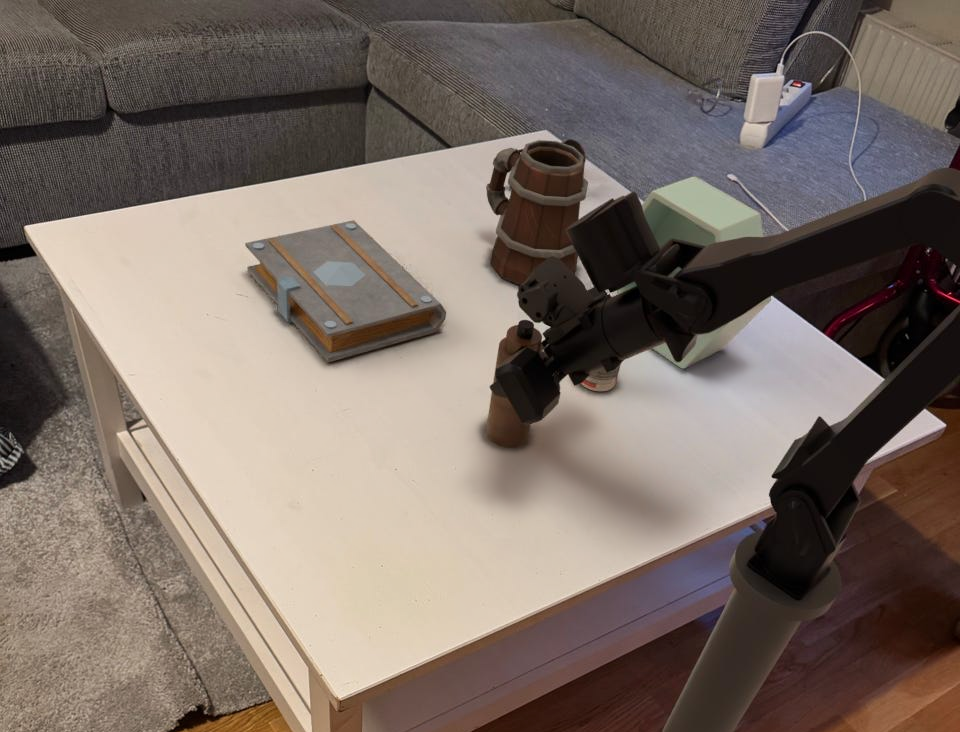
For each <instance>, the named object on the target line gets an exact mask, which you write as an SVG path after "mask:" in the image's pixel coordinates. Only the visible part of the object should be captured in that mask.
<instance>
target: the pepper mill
mask: <svg viewBox="0 0 960 732" xmlns="http://www.w3.org/2000/svg"><path fill="white" fill-rule="evenodd" d="M542 341H543V334H542V333H541V332H540V330H538V329H537V328H536V327H535V323H534V322H533V321H531V320H529V319H522V320H520V321H518V324H514V325H512V326H510V327H509V328H508V329H507V331H506V335H505V337H503V338H502V339H501V340H500V341H499V343H498V348H497V354H496V362H495V368H494V370H495V369H496V368H497V367H498V366H500V365H501V364H502V363H503V362H504V361H505V360H506V359H508V358H509V357H510V356H511V355H512V354H513V353H514V352H515V351H516V350H518V349H519V348H520V347H521V346H522V345H523V346H524V348H526V347H528V348H530V349H532V350H534V351H537V352H539V354H540V356H541V358H542V360H543V361H544V356H543V354H542V349H543V348H544V346H543V345H542V344H541V342H542ZM492 381H493V382H492V384H493V383H494V382H496V381H497V379H496V377H495V373H494V375H493V380H492ZM531 425H532V424H531ZM531 425H525V424H522V422H521V421H520V419H519V417H518V415H517V414H516V412H515V410H514V408H513V407H512V405H511V403H510V401H509V400H508V398H504V397H499V396H495V395H494V394H493V393H492V392H491V394H490V401H489V407H488V415H487V421H486V426H485V427H486V428H485V434H486V437H487V439H489V441H491V442H492V443H493V444H495V445H497V446H499V447H503V448H518V447H521V446H523V445H525V443H527V441H528V440H529V437H530V431H531V427H532V426H531Z"/></svg>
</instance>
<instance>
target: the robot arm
mask: <svg viewBox="0 0 960 732" xmlns="http://www.w3.org/2000/svg"><path fill="white" fill-rule="evenodd" d="M565 231H566V233H567V235H568V237H569V239H570V241H571V243H572V245H573V247H574V249H575V250H576V252H577V254H578V259H579V260H580V262H581V264H582V266H583V268H584V270H585V272H586V274H587V276H588V278H589V280H590V282H591V284H592V286H593V287H591V288H589V289H587V288H586V285H585V284H584V282H583V281H582V280H581V279H580V278H579V277H578V276H577V275H576V273H575V274H574V273H573V272H572V271H571V270H570V269H569V268H568V267H567V266H566V265H565V264H564V263H563V262H562V261H561V260H560V259H559V258H557V257H554V256H551V257H549V258H548V259H546V260H545V261H544V262H543V263H541V264H540V265H539V266H538V267H536V268H535V269H534V270H533V272H532V273H531V274H530V276H529V277H528V278H527V280H526V281H525V282H524V283H523V284H521V285H519V286H518V288H517V292H516V297H517V299H518V301H517V302H518V307H519V309H520V310H522V311H523V313H525V315H527V316H528V318H529V319H530V321H531V320H532V321H531V322H533V323H534V324H541V323H543V324H544V325H545V326H547V327H548V328H547V329H545V330H544V331H543V332H542V333H541V335H542V337H544V339H542V341H541V344H542V345H543V346H544V348H543V349H542V354H543V356H544V361H543V360H542V358H541V356H540V354H539V352H537V351H534V350H532V349H530V348H528V347H526V348H524V346H523V345H522V346H521V347H520V348H519V349H518V350H516V351H515V352H514V353H513V354H512V355H511V356H510V357H509V358H508V359H506V360H505V361H504V362H503V363H502V364H501V365H500V366H498V367H497V368H496V367H495V368H496V369H495V368H494V374H495V377H496V379H497V381H496V382H494V383H493V382H492V383H491V385H489V389H490V391H491V394H492V393H493V394H494V395H495V396H499V397H504V398H508V400H509V401H510V403H511V405H512V407H513V408H514V410H515V412H516V414H517V415H518V417H519V419H520V421H521V422H522V424H525V425H533V424H536V423H539V422H541V421H543V420H544V419H545V418H546V416H548V414H550V413H551V412H552V411H553V410H554V409H555V408H556V407H557V406H558V404H559V403H560V397H561V394H562V392H561V384H560V383H561V382H562V381H563V380H564V379H565V378H566V377H567V376H568V377H569V379H570V381H571V383H572V385H573V386H574V387H576V386H578V385H581V383H582V382H583V381H584V380H585V379H586V378H587V377H588V376H589V375H590V374H591V373H593V372H596V371H598V370H601V369H603V368H604V369H605V371H606V372H607V373H608V372H610V371H613V370H615V369H616V368H617V367H618V366H619V365H620V364H621V365H622V363H623V362H624V361H625V360H628V359H630V358H632V357H634V356H637V355H639V354H642V353H644V352H647V351H650V350H653V349H652V348H654V347H657V346H659V345H662V344H664V343H666V344H667V346H668V348H669V350H670V352H671V354H672V356H673V358H674V360H675V361H676V362H681V361H682V360H683V359H684V358H685V356H686V355H687V354H688V353H689V352H690V351H691V350H692V349H693V347H694V346H695V344H696V339H697V335H701V334H707V333H710V332H713V331H715V330H716V329H718V328H720V327H722V326H724V325H725V324H727V323H729V322H731V321H733V320H735V319H736V318H738V317H740V316H742V315H743V314H745V313H746V312H748V311H749V310H751V309H752V308H754V307H755V306H757V305H758V304H759V303H761V302H762V301H764V300H765V299H767V298H769V297H771V298H772V296H775V295H776V294H778V293H780V292H782V291H785V290H788V289H791V288H795V287H797V286H801V285H802V284H806V283H808V282H812V281H815V280H818V279H820V278H824V277H826V276H830V275H832V274H835V273H839V272H841V271H843V270H846V269H849V268H852V267H856V266H858V265H860V264H861V265H862V264H864V263H867V262H870V261H872V260H875V259H879V258H881V257H884V256H888V255H890V254H892V253H893V254H894V253H896V252H898V251H903V250H905V249H908V248H910V247H913V246H916V245H919V244H921V245H922V246H925V247H927V248H930V249H932V250H934V251H936V252H938V254H940V255H942V257H944V258H945V259H946V260H947V261H949V262H950V263H951V264H953V265H954V266H955V267H956V268H957V269H959V270H960V170H959V169H957V168H951V167H941V168H936V169H933V170H931V171H929V172H927V173H926V174H925V175H924V176H922V177H920V178H919V179H917V180H914V181H912V182H909V183H907V184H904V185H902V186H899V187H897V188H894V189H891V190H889V191H886V192H884V193H881V194H879V195H876V196H873V197H871V198H869V199H866V200H863V201H861V202H858V203H855V204H853V205H850V206H849V207H845V208H843V209H840V210H838V211H835V212H833V213H830V214H827V215H824V216H822V217H820V218H817V219H815V220H812V221H810V222H807V223H804V224H802V225H800V226H797V227H794V228H792V229H789V230H786V231H783V232H782V233H779V234H773V235H768V236H763V237H742V238H737V239H732V240H727V241H722V242H717V243H713V244H710V245H708V246H703V245H699V244H695V243H690V242H686V241H682V240H678V239H674V238H671V239H670V240H668V241H667V242H666V243H665V244H664V245H663V246H661V247H659V245H658V243H657V241H656V239H655V237H654V235H653V233H652V231H651V228H650V226H649V224H648V222H647V220H646V218H645V216H644V213H643V208H642V202H641V201H640V198H639V196H638V194H637V192H636V191H631V192H630V193H628V194H626V195H622V196H619V197H617V198H616V199H614V198H611V199H609V200H607V201H605V202H604V203H602V204H600V205H598V206H597V207H596V208H594V209H592V210H591V211H589V212H588V213H586V214H585V215H583V216H581V217H579V220H577V221H576V222H574V223H573V224H572V225H570V226H569V227H568V228H567V229H566V230H565ZM678 267H680V268H681V270H680V271H679V272H678V273H677V274H676V275H675V276H674V277H673V278H672V277H669V276H670V275H671V274H672V273H673V272H674V271H675V270H676V269H677V268H678ZM634 281H635V283H636V286H634V287H632V288H630V289H628V290H626V291H624V292H622V293H620V294H616V295H614V296H612V295H611V294H610V293H615V292H617V290H619V289H621V288H623V287H625V286H627V285H628V284H630V283H632V282H634ZM607 291H608V292H609V293H608V292H607ZM959 378H960V304H958V305H957V307H956V308H955V309H954V310H953V311H952V312H950V314H948V316H947V317H946V318H945V319H944V320H943V321H942V322H941V323H940V324H939V325H938V326H937V327H936V328H934V330H932V332H930V334H928V336H927V337H926V338H924V340H923V341H922V342H920V343H919V344H918V346H917V347H916V348H915V349H914V350H912V351H911V353H909V355H907V357H906V358H905V359H903V361H902V362H901V363H899V364H898V366H897V367H895V368H894V369H893V370H892V372H890V373H889V374H888V375H887V377H885V379H883V380H882V381H881V383H879V384H878V386H876V388H875V389H874V390H873V391H872V392H870V394H869V395H868V396H867V397H866V398H864V399H863V400H862V402H860V404H858V405H857V407H855V408H854V409H853V410H852V412H851V413H849V415H848V416H846V417H845V418H844V419H842V420H840V421H837V422H836V423H833V424H830V425H829V424H828V423H827V422H826V421H825V419H824V418H823V417H822V416H820V415H819V416H818V417H817V418H816V420H815V421H814V422H813V425H812V426H811V428H810V429H809V430H808V431H807V432H806V433H805V434H804V435H802V436H801V437H798V438H795V439H794V441H793V442H792V443H791V445H790V447H789V448H788V449H787V451H786V452H785V454H784V456H783V457H782V459H781V460H780V462H779V463H778V465H777V466H776V468H775V469H774V471H773V472H772V474H771V476H770V477H771V478H772V479H775V481H774V483H772V486H771V487H770V488H769V492H768V497H769V501H770V505H771V507H772V509H773V511H774V512H775V513H776V514H775V515H774V516H773V517H772V518H771V519H769V520H768V521H767V522H766V524H765V526H764V528H763V532H762V534H761V536H760V538H759V540H758V542H757V544H756V546H755V548H754V551H755V552H756V554H755V555H754V556H753V557H752V558H751V559H749V561H748V562H747V566H748V567H749V568H750V569H751V570H753V571H754V572H756V573H757V574H759V575H760V576H762V577H763V578H764V579H766V580H767V581H769V582H770V583H772V584H773V585H775V586H776V587H778V588H779V589H780V590H782V591H783V592H785V593H786V594H788V595H789V596H791V597H792V598H793V599H795V600H798V601H799V600H802V599H803V598H804V597H805V596H806V595H807V594H808V593H809V592H810V591H811V590H812V589H813V588H814V587H815V586H816V585H817V584H818V583H819V582H820V581H821V580H822V579H823V578H824V577H825V576H826V575H827V574H828V573H829V572H830V570H831V568H830V566H829V565H830V563H831V562H832V560H833V561H834V558H835V557H836V555H837V554H838V552H839V550H840V549H841V548H842V545H843V544H844V542H845V540H846V539H847V538H848V535H847V534H846V531H847V529H848V527H849V525H850V523H851V521H852V519H853V518H854V515H855V514H856V512H857V510H858V508H859V507H860V504H861V502H862V499H861V496H860V495H859V492H858V490H857V488H856V485H855V483H854V481H855V480H856V478H857V477H858V476H859V474H860V473H861V471H862V469H863V468H864V466H865V465H866V464H867V462H869V460H870V459H872V458H873V457H874V456H875V455H876V454H877V453H878V452H879V451H880V450H881V449H883V447H885V446H886V445H887V444H889V442H890V441H891V440H892V439H894V438H895V437H896V436H897V435H899V433H900V432H901V431H902V430H903V429H905V428H906V427H907V426H908V425H909V424H910V423H911V422H912V421H913V420H915V418H917V416H919V415H920V414H921V413H923V411H924V410H925V409H926V408H927V407H929V406H930V405H931V404H932V403H933V402H934V401H935V400H936V399H937V398H938V397H940V396H941V395H942V394H943V393H944V392H945V391H946V390H947V389H948V388H949V387H951V385H953V383H955V382H956V381H957V380H958V379H959Z"/></svg>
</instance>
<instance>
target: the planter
mask: <svg viewBox="0 0 960 732" xmlns="http://www.w3.org/2000/svg"><path fill="white" fill-rule="evenodd" d="M641 205H642V208H643V213H644V216H645V218H646V220H647V222H648V224H649V226H650V228H651V231H652V233H653V235H654V237H655V239H656V241H657V243H658V245H659V247H661V246H663V245H664V244H665V243H666V242H667V241H668V240H670V239H671V238H674V239H678V240H682V241H686V242H690V243H695V244H699V245H703V246H708V245H710V244H713V243H717V242H722V241H727V240H732V239H737V238H742V237H764V231H763V223H762V215H761V213H760V212H759V211H757V210H756V209H754V208H752V207H750V206H748V205H746V204H745V203H743V202H741V201H739V200H737V199H736V198H734V197H732V196H730V195H729V194H727V193H726V192H724V191H721V190H720V189H719V188H717V187H714V186H713V185H711V184H710V183H707V181H704V180H702V179H701V178H699V177H697V176H693V175H692V176H690V177H687V178H684V179H682V180H679V181H676V182H674V183H670V184H668V185H664V186H661V187H659V188H655V189H653V190H651V192H650V193H649V194H648V196H647V197H646V199H645V200H644V201H643V203H641ZM680 270H681V268H680V267H678V268H677V269H676V270H675V271H674V272H673V273H672V274H671V275H670V276H669V277H672V278H673V277H674V276H675V275H676V274H677V273H678V272H679V271H680ZM634 286H636V283H635V281H634V282H632V283H630V284H628V285H627V286H625V287H623V288H621V289H619V290H617V291H616V293H617V294H616V295H618V294H620V293H622V292H624V291H626V290H628V289H630V288H632V287H634ZM771 301H772V296H771V297H769V298H767V299H765V300H764V301H762V302H761V303H759V304H758V305H757V306H755V307H754V308H752V309H751V310H749V311H748V312H746V313H745V314H743V315H742V316H740V317H738V318H736V319H735V320H733V321H731V322H729V323H727V324H725V325H724V326H722V327H720V328H718V329H716V330H715V331H713V332H710V333H707V334H701V335H697V339H696V344H695V346H694V347H693V349H692V350H691V351H690V352H689V353H688V354H687V355H686V356H685V358H684V359H683V360H682V361H681V362H676V361H675V360H674V358H673V356H672V354H671V352H670V350H669V348H668V346H667V344H666V343H664V344H662V345H659V346H657V347H654V348H652V349H651V350H653V351H655V352H657V353H658V354H660V355H661V356H662V357H664V358H665V359H667V360H668V361H670V362H671V363H673V364H674V365H675V366H676V367H678V368H680V369H683V370H684V369H686V368H688V367H690V366H692V365H695V364H696V363H698V362H700V361H702V360H704V359H706V358H708V357H710V356H712V355H714V354H716V353H717V352H720V351H721V350H723V349H724V348H726V346H727V345H728V344H729V343H730V342H731V341H732V340H733V339H734V338H736V336H737V335H738V334H739V333H740V332H741V331H742V330H743V329H745V328H746V327H747V326H748V324H749V323H750V322H752V320H753V319H754V318H756V317H757V315H758V314H759V313H760V312H761V311H762V310H763V309H764V308H765V307H767V306H768V305H769V303H770V302H771Z"/></svg>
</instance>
